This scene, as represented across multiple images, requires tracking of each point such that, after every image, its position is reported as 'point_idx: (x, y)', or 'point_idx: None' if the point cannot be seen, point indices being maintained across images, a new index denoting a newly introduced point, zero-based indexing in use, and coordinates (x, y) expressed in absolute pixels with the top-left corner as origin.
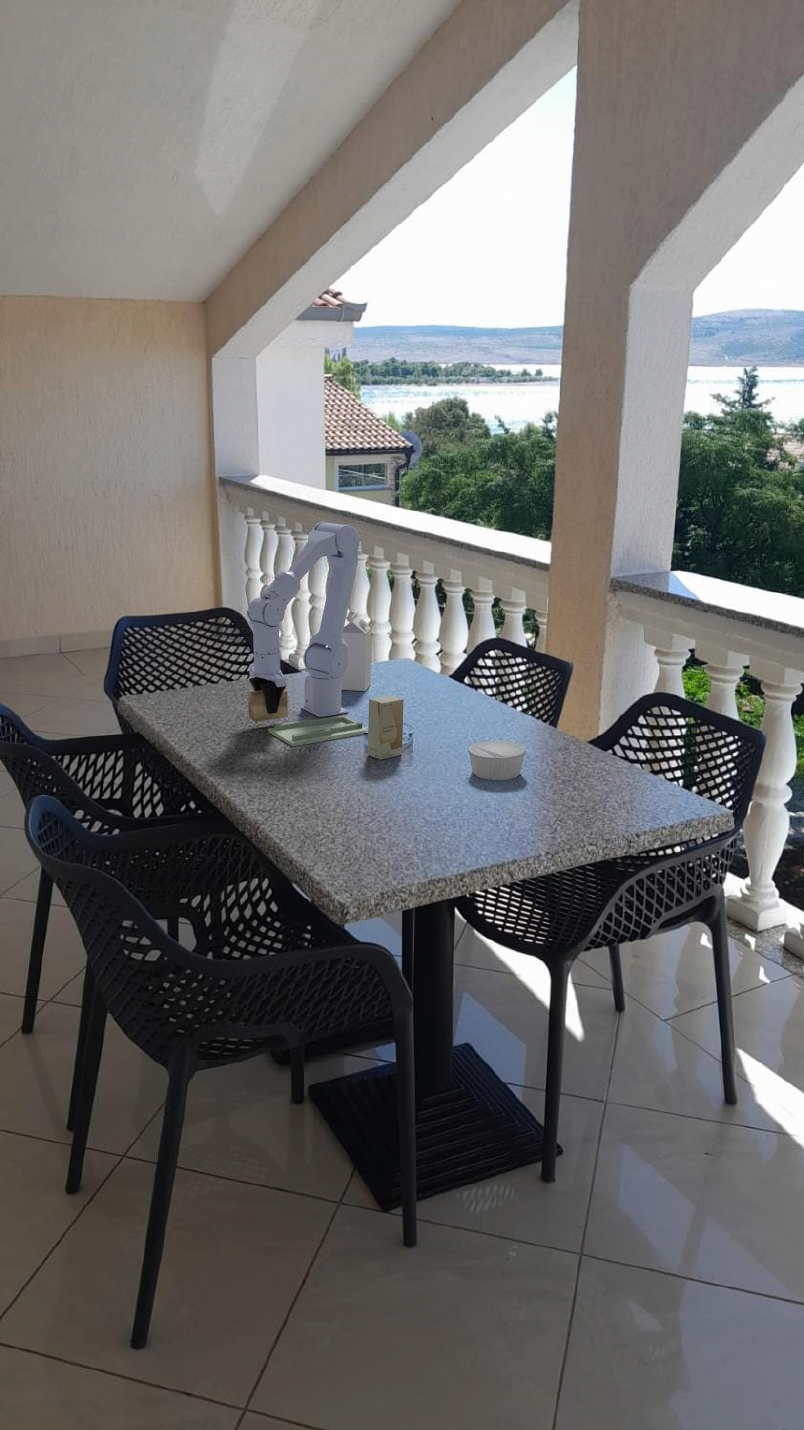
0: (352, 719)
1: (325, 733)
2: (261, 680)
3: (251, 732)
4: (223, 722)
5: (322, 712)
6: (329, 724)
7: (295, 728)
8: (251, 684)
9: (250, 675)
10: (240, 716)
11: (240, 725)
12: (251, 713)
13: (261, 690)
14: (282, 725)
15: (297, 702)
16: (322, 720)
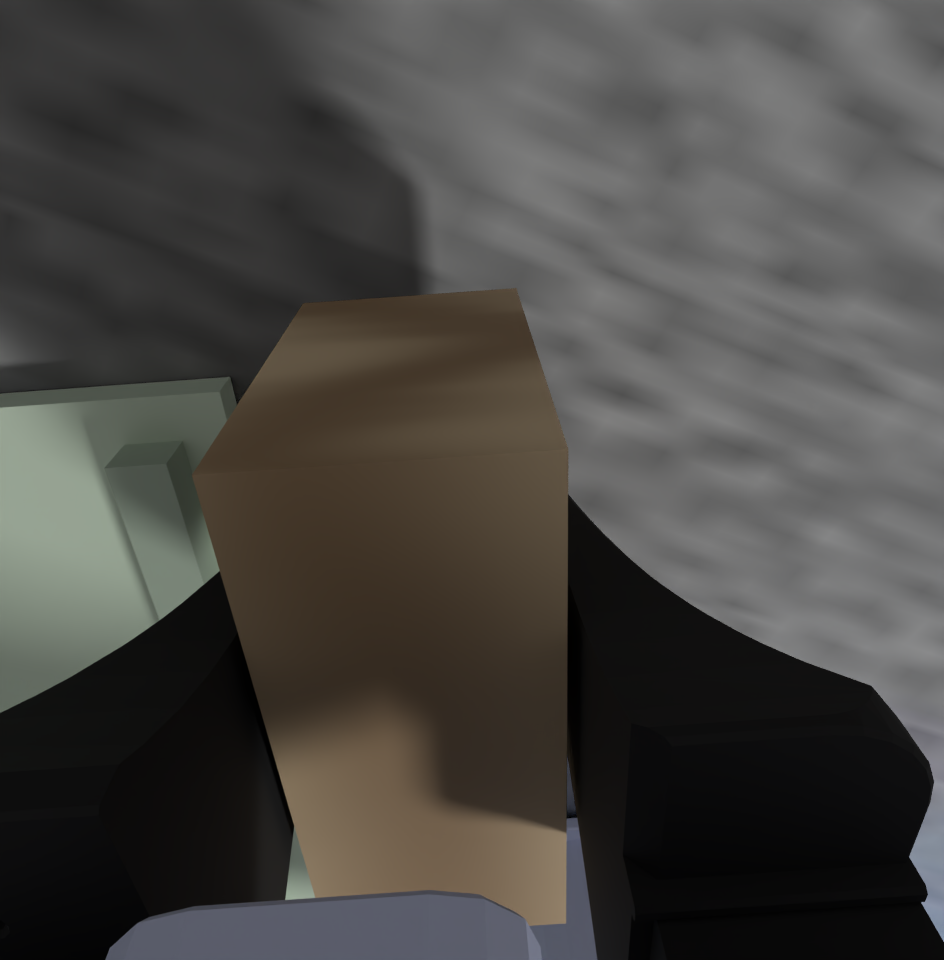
0: None
1: None
2: (619, 893)
3: (283, 205)
4: (860, 23)
5: None
6: None
7: (147, 609)
8: (790, 660)
9: (361, 915)
10: (929, 321)
11: (613, 189)
12: (417, 320)
13: (549, 696)
14: (128, 529)
15: (925, 822)
16: None
